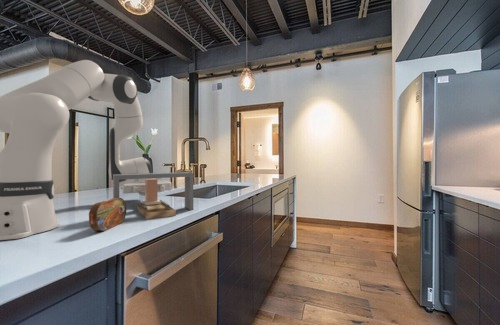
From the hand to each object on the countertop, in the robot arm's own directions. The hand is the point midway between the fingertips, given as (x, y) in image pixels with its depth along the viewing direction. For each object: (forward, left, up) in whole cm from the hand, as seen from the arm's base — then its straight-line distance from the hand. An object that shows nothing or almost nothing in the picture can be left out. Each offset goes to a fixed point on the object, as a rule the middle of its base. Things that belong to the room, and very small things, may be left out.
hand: (150, 189), depth 101 cm
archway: (0, -10, -8) cm, 13 cm away
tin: (-16, -24, -8) cm, 30 cm away
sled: (0, -2, -6) cm, 6 cm away
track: (0, -9, -8) cm, 12 cm away
